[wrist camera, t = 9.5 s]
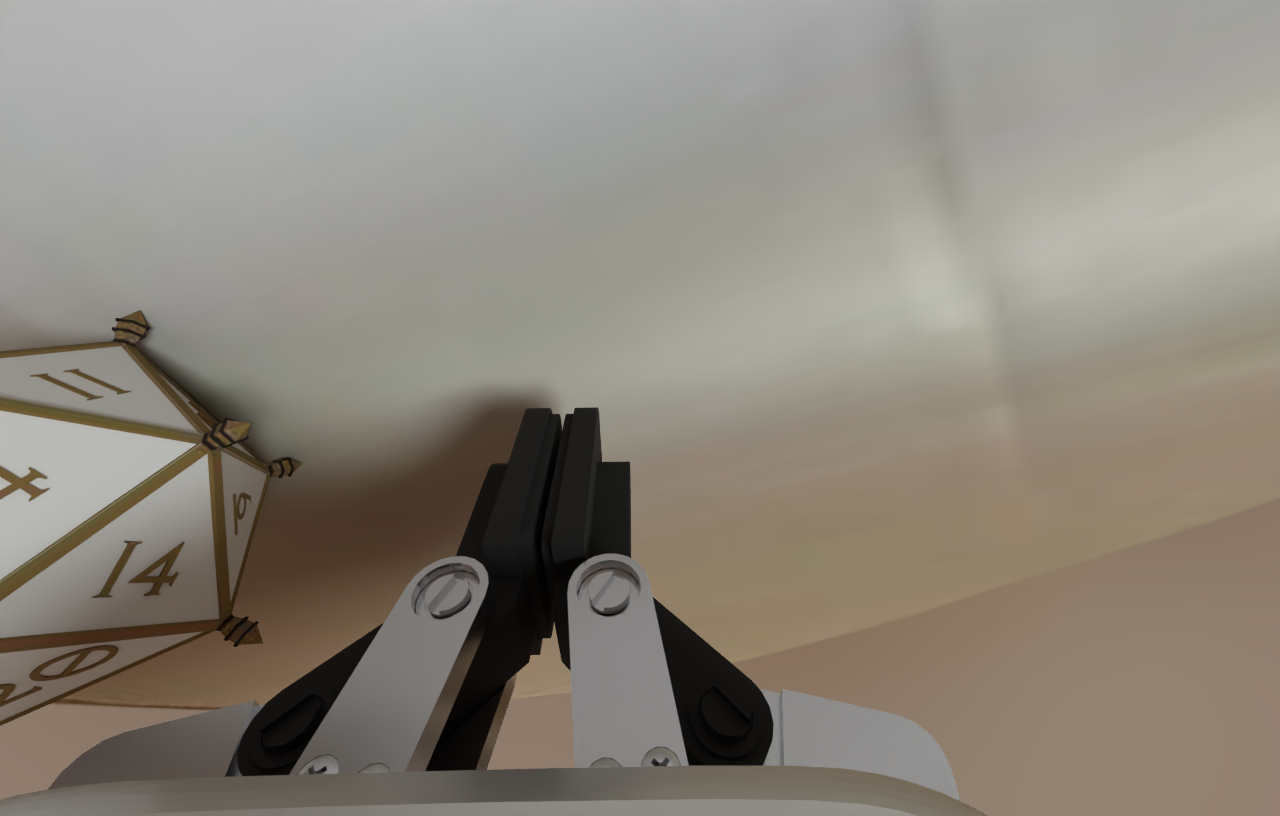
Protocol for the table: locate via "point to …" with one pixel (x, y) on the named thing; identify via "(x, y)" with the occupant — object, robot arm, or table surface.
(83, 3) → the table surface
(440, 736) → the robot arm
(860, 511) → the table surface
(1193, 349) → the table surface
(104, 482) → the game die
